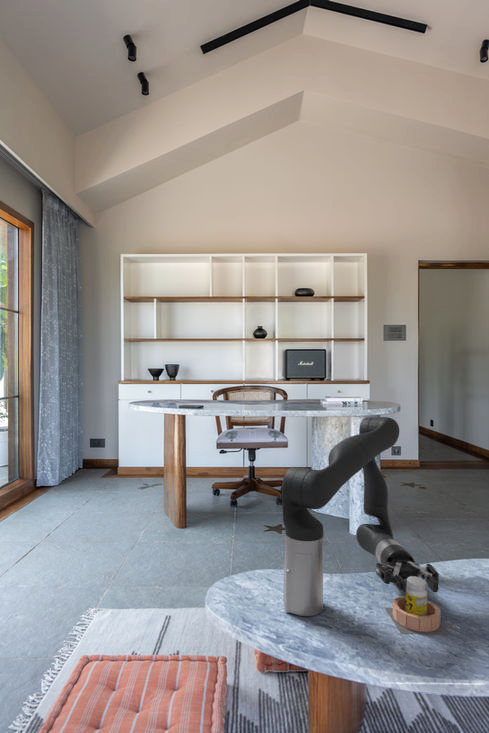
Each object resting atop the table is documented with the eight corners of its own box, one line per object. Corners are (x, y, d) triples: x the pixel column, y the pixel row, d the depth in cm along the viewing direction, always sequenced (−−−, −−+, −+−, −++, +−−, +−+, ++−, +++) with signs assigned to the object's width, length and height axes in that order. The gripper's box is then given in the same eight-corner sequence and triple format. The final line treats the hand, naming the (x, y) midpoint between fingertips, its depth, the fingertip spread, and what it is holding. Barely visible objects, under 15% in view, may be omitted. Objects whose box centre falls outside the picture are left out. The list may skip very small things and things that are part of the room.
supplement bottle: (401, 610, 102) (401, 575, 102) (420, 610, 102) (420, 574, 102) (410, 623, 97) (411, 586, 97) (430, 622, 97) (431, 585, 97)
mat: (401, 635, 94) (401, 633, 94) (384, 608, 105) (384, 607, 105) (451, 635, 94) (451, 634, 94) (429, 609, 105) (429, 608, 105)
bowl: (402, 632, 94) (402, 618, 95) (387, 608, 104) (387, 595, 105) (448, 632, 95) (448, 618, 95) (428, 609, 105) (428, 596, 105)
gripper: (366, 543, 114) (388, 570, 98) (421, 544, 114) (452, 571, 98) (366, 572, 114) (388, 604, 97) (421, 573, 114) (452, 605, 97)
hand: (420, 587), depth 98 cm, fingers open, 6 cm apart
